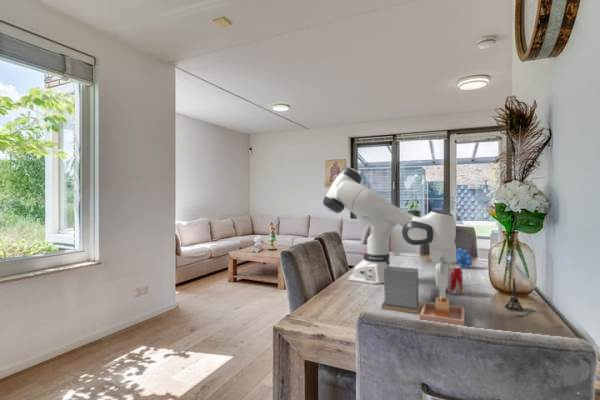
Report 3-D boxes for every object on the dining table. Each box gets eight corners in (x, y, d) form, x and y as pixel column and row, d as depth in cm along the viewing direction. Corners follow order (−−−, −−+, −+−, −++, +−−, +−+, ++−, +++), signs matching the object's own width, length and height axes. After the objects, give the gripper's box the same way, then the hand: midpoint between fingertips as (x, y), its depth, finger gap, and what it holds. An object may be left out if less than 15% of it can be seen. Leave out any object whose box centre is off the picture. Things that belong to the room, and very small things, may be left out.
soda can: (441, 291, 143) (441, 265, 143) (453, 289, 145) (452, 264, 145) (455, 296, 136) (454, 268, 136) (466, 293, 139) (466, 267, 139)
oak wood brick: (435, 317, 112) (435, 297, 112) (436, 313, 116) (436, 294, 116) (449, 319, 110) (449, 299, 110) (449, 314, 114) (449, 295, 114)
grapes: (449, 267, 190) (448, 247, 190) (456, 265, 193) (455, 246, 193) (467, 270, 180) (467, 250, 180) (474, 269, 183) (474, 248, 183)
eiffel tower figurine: (521, 319, 111) (521, 282, 111) (491, 311, 120) (491, 276, 119) (539, 310, 119) (539, 276, 119) (510, 303, 128) (510, 270, 127)
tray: (419, 321, 110) (419, 314, 110) (424, 308, 122) (424, 302, 122) (464, 328, 104) (464, 321, 103) (464, 314, 116) (464, 307, 116)
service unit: (381, 308, 123) (380, 269, 123) (387, 300, 132) (386, 264, 132) (419, 314, 117) (418, 273, 116) (422, 305, 126) (421, 267, 125)
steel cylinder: (430, 301, 130) (430, 289, 130) (431, 298, 135) (431, 286, 135) (443, 303, 128) (443, 291, 128) (444, 299, 132) (444, 287, 132)
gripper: (451, 261, 102) (452, 303, 102) (452, 251, 120) (453, 286, 121) (430, 260, 105) (431, 301, 105) (435, 250, 123) (435, 284, 123)
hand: (443, 293), depth 113 cm, fingers open, 8 cm apart
